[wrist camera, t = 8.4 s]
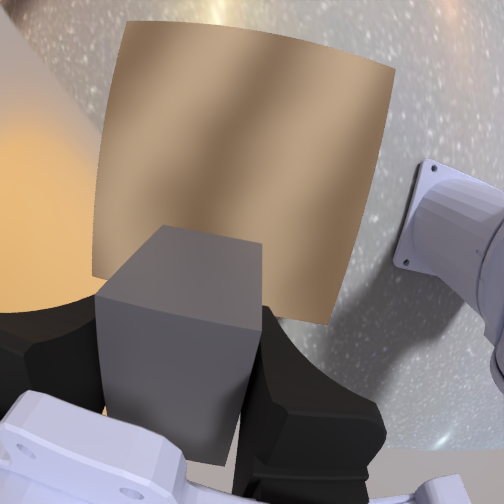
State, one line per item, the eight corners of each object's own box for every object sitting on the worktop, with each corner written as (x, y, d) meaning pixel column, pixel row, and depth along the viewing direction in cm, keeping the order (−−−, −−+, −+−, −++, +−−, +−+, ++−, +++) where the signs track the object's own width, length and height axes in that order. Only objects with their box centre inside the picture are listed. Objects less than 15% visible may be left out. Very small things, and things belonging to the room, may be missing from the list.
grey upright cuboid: (262, 243, 13) (261, 331, 7) (236, 361, 15) (224, 466, 9) (163, 224, 13) (94, 294, 7) (154, 344, 15) (111, 439, 9)
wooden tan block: (388, 72, 13) (395, 69, 12) (324, 315, 18) (327, 324, 17) (134, 26, 13) (127, 21, 12) (99, 269, 17) (92, 276, 16)
